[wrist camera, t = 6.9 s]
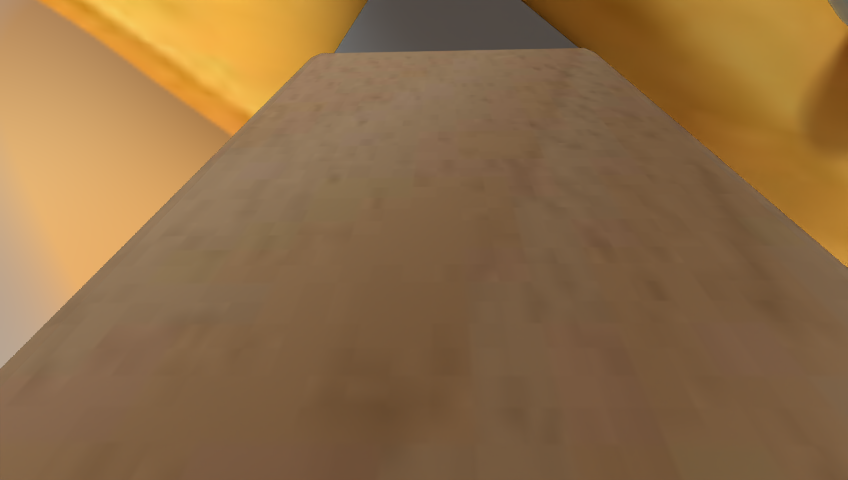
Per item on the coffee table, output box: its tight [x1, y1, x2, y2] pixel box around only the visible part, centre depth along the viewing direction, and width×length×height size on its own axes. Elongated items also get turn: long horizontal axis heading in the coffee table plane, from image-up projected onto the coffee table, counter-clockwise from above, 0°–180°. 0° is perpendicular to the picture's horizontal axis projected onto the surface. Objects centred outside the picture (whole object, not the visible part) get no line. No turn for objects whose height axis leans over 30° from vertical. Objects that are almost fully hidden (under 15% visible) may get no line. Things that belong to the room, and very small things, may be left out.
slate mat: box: [335, 0, 578, 53], centre depth 37 cm, size 13×13×1 cm
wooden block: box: [0, 48, 848, 480], centre depth 14 cm, size 10×10×20 cm
